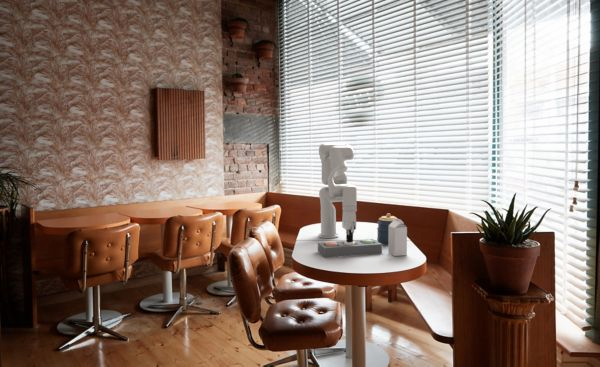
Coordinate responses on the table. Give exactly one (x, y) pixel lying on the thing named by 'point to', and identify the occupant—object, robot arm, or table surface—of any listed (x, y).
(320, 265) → the table surface
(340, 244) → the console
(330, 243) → the button terracotta
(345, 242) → the button cream
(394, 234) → the milk carton
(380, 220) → the canister
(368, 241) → the button sage
